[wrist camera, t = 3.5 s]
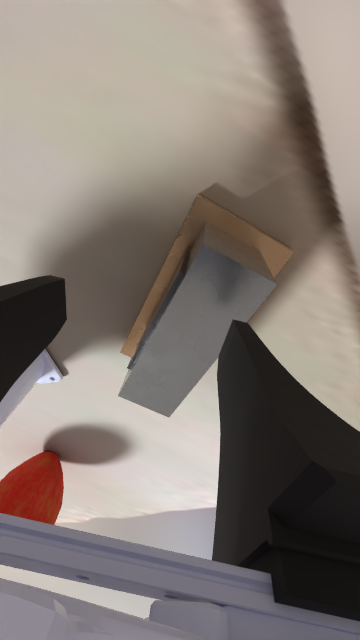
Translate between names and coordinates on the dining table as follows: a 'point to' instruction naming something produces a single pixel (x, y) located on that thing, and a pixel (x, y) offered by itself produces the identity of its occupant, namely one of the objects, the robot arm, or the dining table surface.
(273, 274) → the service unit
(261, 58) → the dining table surface
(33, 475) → the apple
